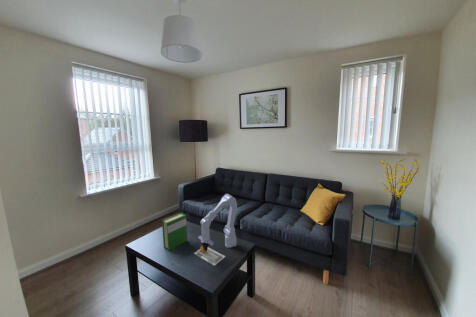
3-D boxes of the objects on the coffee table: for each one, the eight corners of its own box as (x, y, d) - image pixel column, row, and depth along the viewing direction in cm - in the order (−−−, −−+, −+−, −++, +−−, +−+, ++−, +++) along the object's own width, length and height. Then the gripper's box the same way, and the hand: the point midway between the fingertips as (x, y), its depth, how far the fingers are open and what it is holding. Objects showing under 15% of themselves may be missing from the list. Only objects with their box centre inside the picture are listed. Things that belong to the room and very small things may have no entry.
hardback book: (168, 251, 151) (167, 222, 148) (163, 247, 156) (162, 220, 152) (187, 240, 165) (186, 214, 161) (182, 237, 170) (180, 212, 166)
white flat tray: (205, 247, 156) (205, 244, 156) (225, 258, 143) (225, 255, 143) (193, 255, 147) (193, 252, 146) (214, 267, 134) (214, 264, 133)
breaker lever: (204, 249, 151) (204, 243, 150) (207, 250, 149) (206, 245, 148) (200, 252, 148) (200, 246, 147) (203, 253, 146) (203, 247, 145)
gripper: (195, 233, 145) (195, 249, 148) (208, 239, 137) (208, 256, 139) (201, 229, 151) (202, 245, 153) (215, 235, 142) (215, 252, 144)
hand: (205, 250), depth 146 cm, fingers closed
